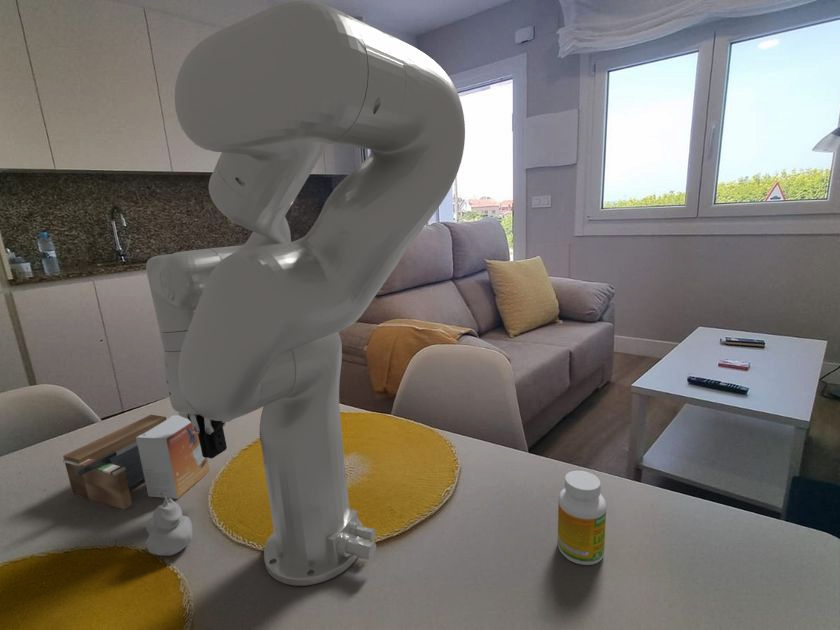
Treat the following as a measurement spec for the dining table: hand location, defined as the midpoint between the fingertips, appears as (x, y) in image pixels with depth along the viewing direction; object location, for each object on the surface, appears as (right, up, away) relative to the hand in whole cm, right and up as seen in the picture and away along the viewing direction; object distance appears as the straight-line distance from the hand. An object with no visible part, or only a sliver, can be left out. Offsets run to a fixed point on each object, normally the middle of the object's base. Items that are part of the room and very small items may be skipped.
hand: (215, 453), depth 66 cm
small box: (-8, -7, +6) cm, 12 cm away
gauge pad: (-16, -6, +6) cm, 18 cm away
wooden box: (-17, -7, +9) cm, 20 cm away
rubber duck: (-2, -10, -9) cm, 13 cm away
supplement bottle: (+51, -8, -13) cm, 54 cm away
